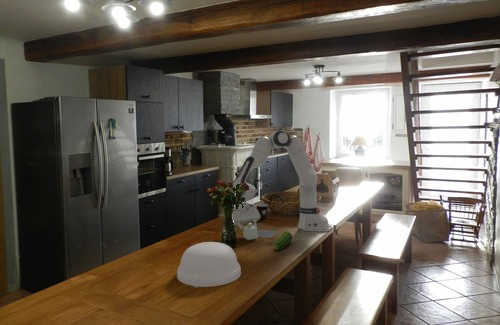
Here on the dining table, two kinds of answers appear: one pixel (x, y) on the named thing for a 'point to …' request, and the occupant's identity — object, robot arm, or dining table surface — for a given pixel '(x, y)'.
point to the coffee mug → (262, 210)
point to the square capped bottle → (250, 232)
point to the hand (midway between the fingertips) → (248, 227)
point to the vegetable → (283, 240)
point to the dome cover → (208, 265)
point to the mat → (266, 233)
